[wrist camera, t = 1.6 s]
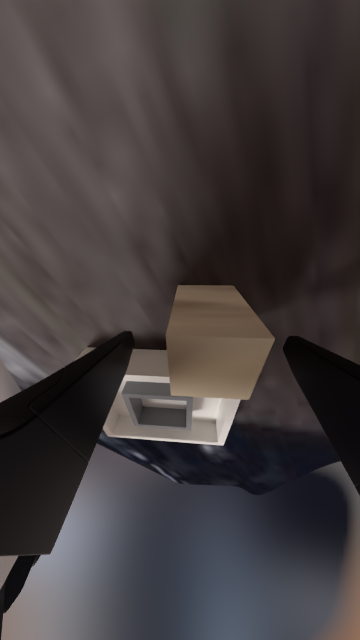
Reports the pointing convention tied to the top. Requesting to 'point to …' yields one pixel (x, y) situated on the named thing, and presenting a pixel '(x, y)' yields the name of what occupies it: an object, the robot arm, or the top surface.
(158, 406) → the walled tray
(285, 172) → the top surface
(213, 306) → the block
